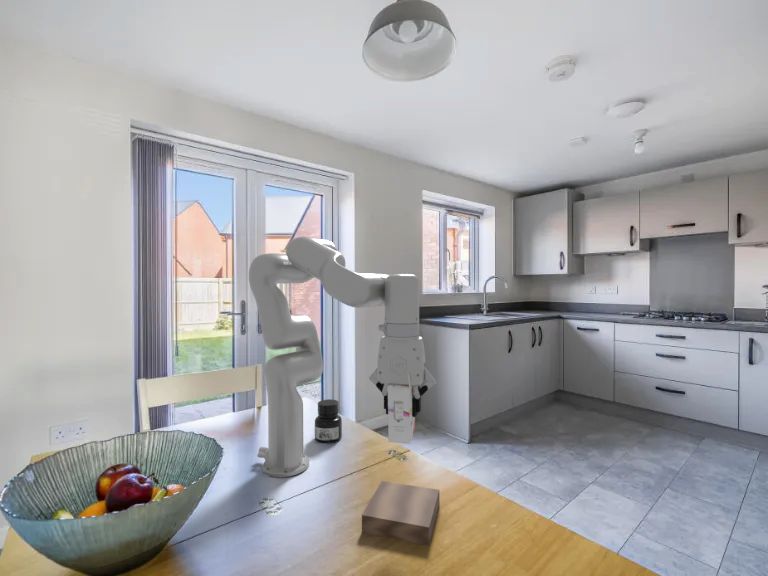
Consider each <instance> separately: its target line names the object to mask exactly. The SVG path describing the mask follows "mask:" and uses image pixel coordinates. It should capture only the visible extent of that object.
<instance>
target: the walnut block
mask: <svg viewBox="0 0 768 576" xmlns="http://www.w3.org/2000/svg"><path fill="white" fill-rule="evenodd" d="M440 504H441V503H440V489H438V488H430V487H424V486H417V485H412V484H411V485H410V484H404V483H397V482H391V481H384V480H381V481H380V483H379V485H378V486H377V488H376V490H375V491H374V493H373V494H372V497H371V498H370V500H369V502H368V503H367V505H366V507H365V508H364V510H363V511H362V514H361V533H364V534H369V535H375V536H379V537H385V538H390V539H395V540H400V541H405V542H409V543H414V544H420V545H425V546H430V543H431V539H432V536H433V531H434V528H435V523H436V520H437V517H438V513H439V508H440Z"/></svg>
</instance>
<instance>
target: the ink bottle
mask: <svg viewBox="0 0 768 576" xmlns="http://www.w3.org/2000/svg"><path fill="white" fill-rule="evenodd" d="M339 410H340V409H339V400H336V399H323V400H319V401H318V402H317V416H316V417H315V419H314V440H315V441H316V442H318V443H322V444H332V443H336V442H339V441H340V440H341V438H342V437H343V429H342V427H343V425H342V424H343V420H342V417H341V416H340V415H339Z"/></svg>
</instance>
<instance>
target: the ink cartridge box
mask: <svg viewBox="0 0 768 576" xmlns="http://www.w3.org/2000/svg"><path fill="white" fill-rule="evenodd" d="M408 381H409V386H405V385H392V384H390V385H389V386H388V387H387V388H388V414H387V416H388V417H387V420H388V422H387V423H388V425H387V427H388V428H387V429H388V430H387V431H388V440H387V441H388V443H395V444H411V442H412V440H413V437H414V432H415V429H416V417H413V416H412V399H413V397H414V393H413V390H412V386H411V385H410V374H409V373H408Z"/></svg>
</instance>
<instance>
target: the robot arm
mask: <svg viewBox="0 0 768 576" xmlns="http://www.w3.org/2000/svg"><path fill="white" fill-rule="evenodd" d="M313 279H317V280H319V281H320V284H321V286H322V288H323V289H324V291H325V292H326V294H328V295H329V296H330V297H332V298H333V299H335V300H337V301H338V302H340V303H342V304H343V305H346V306H348V307H352V308H358V309H359V308H360V309H361V308H371V307H373V308H374V307H375V308H376V307H384V322H383V324H379V325H378V331H379V332H383V336H381V337H380V340H379V346H378V355H377V367H376V369H375V370H374V371H373V372H372V373H371V375H370V376H369V380H370V382H372V383H373V385H375V387H376V388H377V389H378V390H379V391H380V393H381V394H382V396H383V409H384V410H385V414H386V415H388V388H387V387H388V386H389V385H390V384H392V385H405V386H409V381H408V373H409V374H410V385H411V386H412V390H413V393H414V397H413V399H412V416H413V417H415V418H416V417H417V416H418V414H419V413H420V412H421V410H422V409H421V408H422V406H421V403H422V402H421V400H422V399H421V398H422V396H423V395H424V394H425V393H426V392H427V391H428V390H430V389H431V388H432V387H434V386H435V385H436V384H437V380H436V379H435V377H434V376H433V375H432V374H431V372H430V371H429V370H428V369H427V364H426V363H427V362H426V353H425V346H424V345H425V344H424V339H423V337H422V336H420V280H419V277H418V276H417V275H415V274H411V273H409V274H408V273H406V274H404V273H401V274H400V273H398V274H397V273H396V274H395V273H394V274H383V273H366V272H365V273H361V272H355V271H352V270H351V269H349V268H347V267H346V259H345V257H344V255H343V254H342V253H341V252H340V251H338V249H337V247H336V246H335V244H334V243H333V242H332V241H329V240H328V239H325V238H318V237H309V236H298V237H295V238H293V239H292V240H290V242H288V244H287V245H286V249H285V253H274V252H273V253H263V254H259V255H257V256H256V257H254V258H253V260H252V261H251V263H250V266H249V270H248V282H249V287H250V289H251V290H250V291H251V292H252V295H253V297H254V300H255V302H256V306H257V311H258V312H257V313H258V318H259V324H260V329H261V335H262V339H263V342H264V345H265V346H266V347H267V348H268V349H269V350H272V351H279V350H285V349H292V348H295V351H294V352H293V351H292V352H286V353H282V354H278V355H274V356H273V357H271V358H269V359H268V361H267V362H266V363H265V365H264V368H263V377H264V383H265V388H266V393H267V413H268V414H267V418H268V419H267V421H268V424H267V425H268V427H267V428H268V429H267V430H268V432H267V433H268V435H267V436H268V439H267V440H268V441H267V442H268V443H267V444H268V447H265V446H260V447H259V449H258V453H257V458H261V459H262V458H263V459H264V462H263V463H262V471H263V473H264V474H265V475H267V476H270V477H272V478H289V477H293V476H295V475H298V474H301V473H303V472H304V471H305V470H306V469H307V470H308V468H309V466H310V459H309V457H308V456H307V455H306V454H304V403H303V402H304V401H303V399H302V396H301V394H300V393H299V391H298V390H297V387H298V386H300V385H304V384H308V383H311V382H314V381H316V380H318V379H320V377H321V376H322V374H323V372H324V361H323V355H322V349H321V346H320V340H319V335H318V331H317V327H316V325H315V323H314V321H313V320H312V318H310V317H309V315H304V314H292V313H291V311H290V308H289V307H290V306H289V302H288V299H287V297H286V295H285V293H284V292H283V291H282V290H281V288H279V287H278V286H277V285H278V284H304V283H307V282H309V281H311V280H313ZM425 380H426V383H425V384H423V383H424V381H425ZM422 384H423V385H422ZM421 385H422V386H421Z"/></svg>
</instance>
